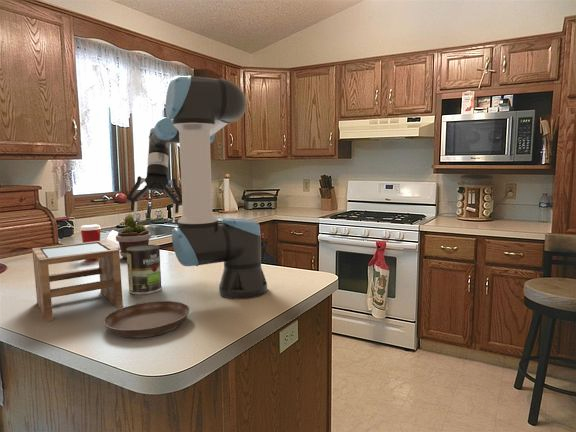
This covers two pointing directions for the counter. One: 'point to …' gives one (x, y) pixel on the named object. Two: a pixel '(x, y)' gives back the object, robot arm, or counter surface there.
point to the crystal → (113, 239)
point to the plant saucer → (146, 319)
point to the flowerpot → (132, 235)
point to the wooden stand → (77, 275)
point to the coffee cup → (90, 235)
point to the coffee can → (144, 269)
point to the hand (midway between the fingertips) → (154, 220)
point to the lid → (72, 250)
